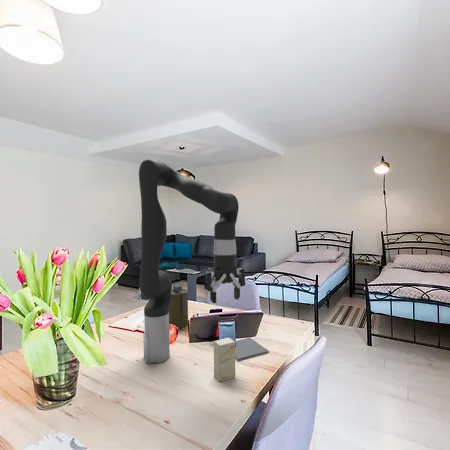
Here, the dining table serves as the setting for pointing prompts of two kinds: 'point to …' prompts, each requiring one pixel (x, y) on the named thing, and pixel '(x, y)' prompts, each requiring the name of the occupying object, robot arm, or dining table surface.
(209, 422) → the dining table surface
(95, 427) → the dining table surface
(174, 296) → the canister
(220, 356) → the skincare box
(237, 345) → the mat
